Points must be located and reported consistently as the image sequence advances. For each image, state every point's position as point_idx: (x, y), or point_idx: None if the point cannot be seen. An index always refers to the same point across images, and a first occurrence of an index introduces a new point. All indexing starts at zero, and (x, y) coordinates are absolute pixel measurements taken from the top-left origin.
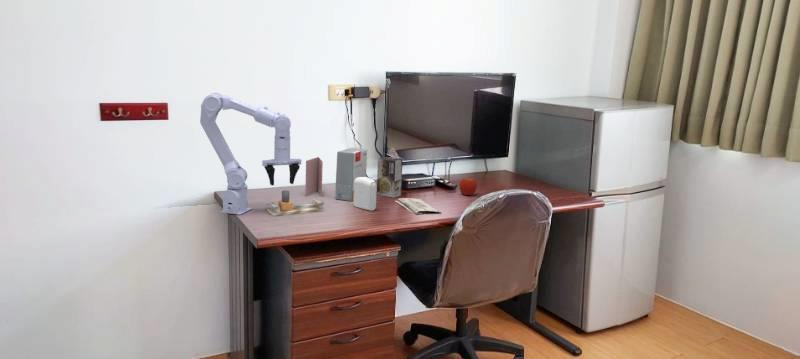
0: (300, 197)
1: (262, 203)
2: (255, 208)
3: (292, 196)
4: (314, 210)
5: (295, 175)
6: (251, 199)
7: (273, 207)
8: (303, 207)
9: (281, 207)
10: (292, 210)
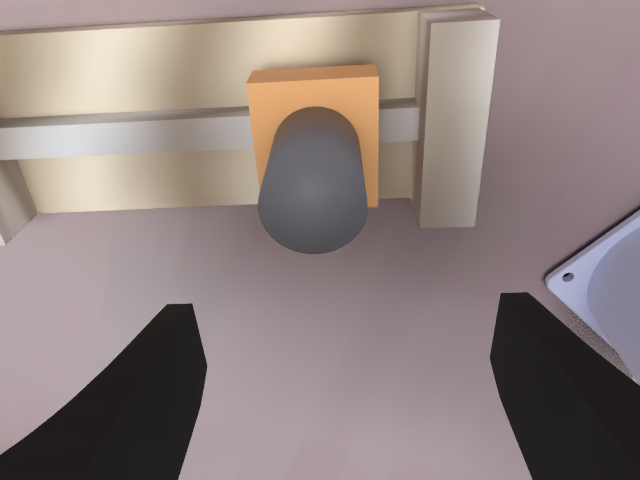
0: None
1: (394, 391)
2: None
3: None
4: (23, 33)
5: (69, 403)
6: (421, 474)
7: (491, 53)
8: (127, 116)
9: None
10: None
